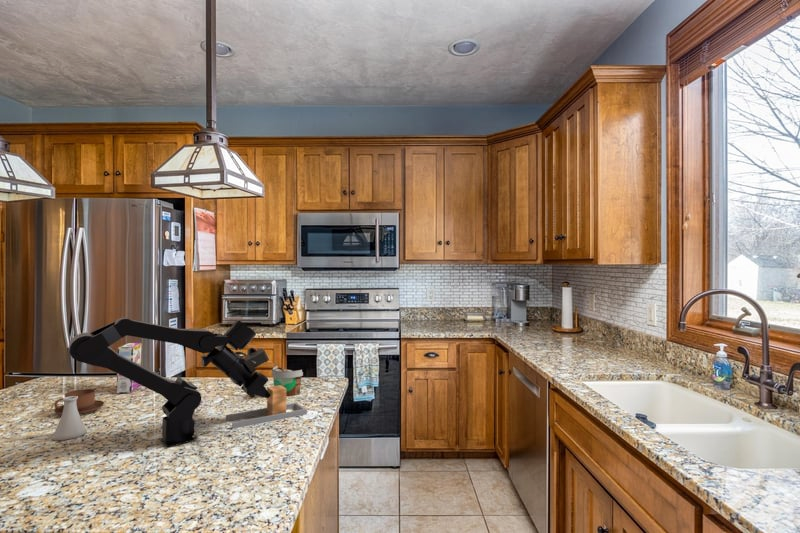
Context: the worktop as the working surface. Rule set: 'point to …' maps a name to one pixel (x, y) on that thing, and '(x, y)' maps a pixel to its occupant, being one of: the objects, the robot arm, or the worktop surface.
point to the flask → (69, 421)
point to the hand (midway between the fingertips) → (268, 396)
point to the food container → (288, 380)
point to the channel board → (298, 412)
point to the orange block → (276, 400)
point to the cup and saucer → (82, 401)
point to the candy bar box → (134, 354)
